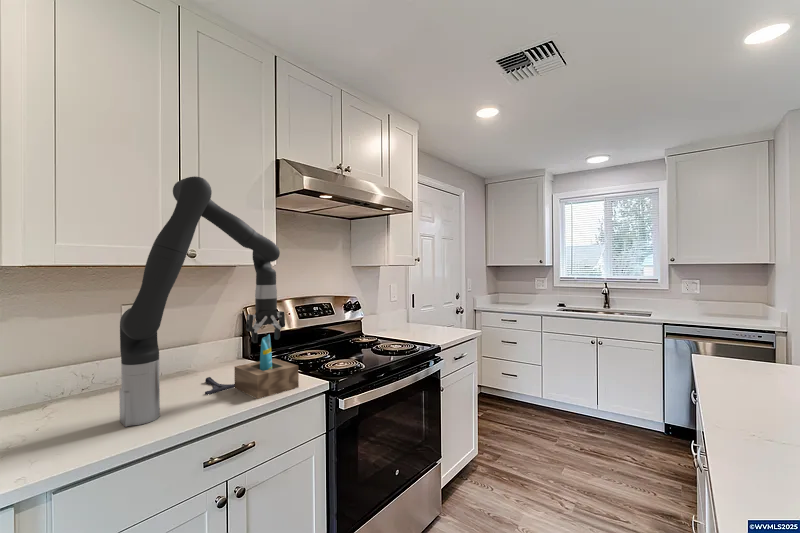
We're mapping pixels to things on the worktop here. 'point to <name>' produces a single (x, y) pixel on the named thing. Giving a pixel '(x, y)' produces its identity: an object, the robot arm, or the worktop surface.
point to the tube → (266, 354)
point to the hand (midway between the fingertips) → (266, 341)
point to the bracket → (217, 386)
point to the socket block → (266, 378)
